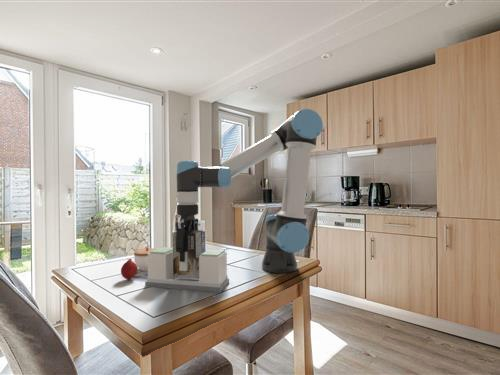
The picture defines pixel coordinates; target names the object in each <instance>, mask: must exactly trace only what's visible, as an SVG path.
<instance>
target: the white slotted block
mask: <svg viewBox="0 0 500 375" xmlns="http://www.w3.org/2000/svg"><path fill="white" fill-rule="evenodd" d="M227 255H228V252H227V250H225V249H207V250H206V251H204V252H202V254H201V255H200V256H199V277H198V278H197V279H190V278H173V247H167V246H166V247H165V246H162V247H161V246H160V247H157V248H156V250H153V251H150V253H148V270H147V278H146V281H145V282H144V286H145V287H148V288H160V289H161V288H163V289H173V290H174V289H176V290H187V291H197V292H198V291H199V292H212V293H213V292H214V293H222V291H223V290H224V289H225V288H226V287H227V286H228V284H229V283H230V278H229V277H228V268H227V267H228V266H227V265H228V264H227V263H228V262H227V261H228V260H227V259H228V258H227V257H228V256H227Z"/></svg>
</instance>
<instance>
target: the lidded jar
mask: <svg viewBox="0 0 500 375" xmlns="http://www.w3.org/2000/svg"><path fill="white" fill-rule="evenodd" d="M156 249H157V248H155V247H154V248H153V247H152V248H151V247H150V248H149V246H146V247H145V248H141V249H137V250H134V251H133V256H134V257H133V258H134V263H135V264H136V265H137V267H138V270H140V271H143V272H146V271H147V272H148V253H150V251H153V250H156Z"/></svg>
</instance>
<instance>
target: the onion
mask: <svg viewBox="0 0 500 375" xmlns="http://www.w3.org/2000/svg"><path fill="white" fill-rule="evenodd" d="M132 260H133V259H132V258H129V259H127V261H126V262H124V263H123V265H121V268H120V274H121V277H122V278H124V279H126V280H128V281H131V280H132V279H133V278H134V277H135V276H136V275H137V273H138V270H139V268H138V267H137V265H136V264H135V261H132Z"/></svg>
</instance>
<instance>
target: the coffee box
mask: <svg viewBox="0 0 500 375" xmlns="http://www.w3.org/2000/svg"><path fill="white" fill-rule="evenodd" d="M172 248H173V278H190V279H197V278H198V277H199V256H200V255H201V254H202V253H203V230H202V229H201V230H199V229H198V230H194V231H190V233H187V249H186V252H187V253H188V271H179V252H176V231H174V232H172Z"/></svg>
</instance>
